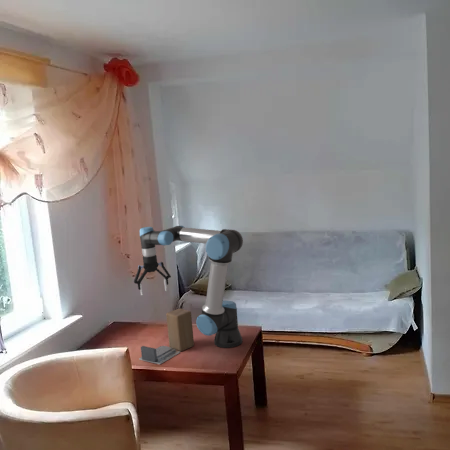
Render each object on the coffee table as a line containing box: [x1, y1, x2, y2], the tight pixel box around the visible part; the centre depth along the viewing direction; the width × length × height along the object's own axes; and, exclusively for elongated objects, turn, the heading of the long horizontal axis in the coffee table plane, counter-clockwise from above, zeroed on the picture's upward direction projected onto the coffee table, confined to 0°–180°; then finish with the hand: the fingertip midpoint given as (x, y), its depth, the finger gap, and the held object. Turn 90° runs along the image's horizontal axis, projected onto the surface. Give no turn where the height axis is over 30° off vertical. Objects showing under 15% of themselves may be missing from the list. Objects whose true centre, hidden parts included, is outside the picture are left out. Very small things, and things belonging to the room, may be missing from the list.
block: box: [165, 308, 195, 352], centre depth 292 cm, size 10×10×20 cm
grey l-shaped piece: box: [138, 345, 181, 365], centre depth 283 cm, size 14×17×8 cm
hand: (154, 292), depth 300 cm, fingers open, 13 cm apart
